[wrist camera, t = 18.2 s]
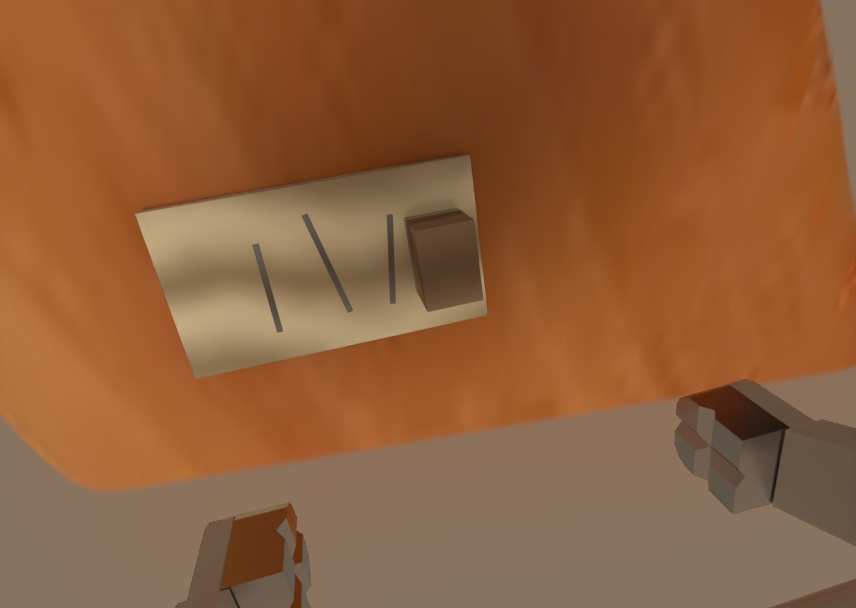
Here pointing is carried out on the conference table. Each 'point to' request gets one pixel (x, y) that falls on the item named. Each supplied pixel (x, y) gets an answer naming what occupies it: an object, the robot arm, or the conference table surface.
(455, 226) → the block
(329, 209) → the board
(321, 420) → the conference table surface
